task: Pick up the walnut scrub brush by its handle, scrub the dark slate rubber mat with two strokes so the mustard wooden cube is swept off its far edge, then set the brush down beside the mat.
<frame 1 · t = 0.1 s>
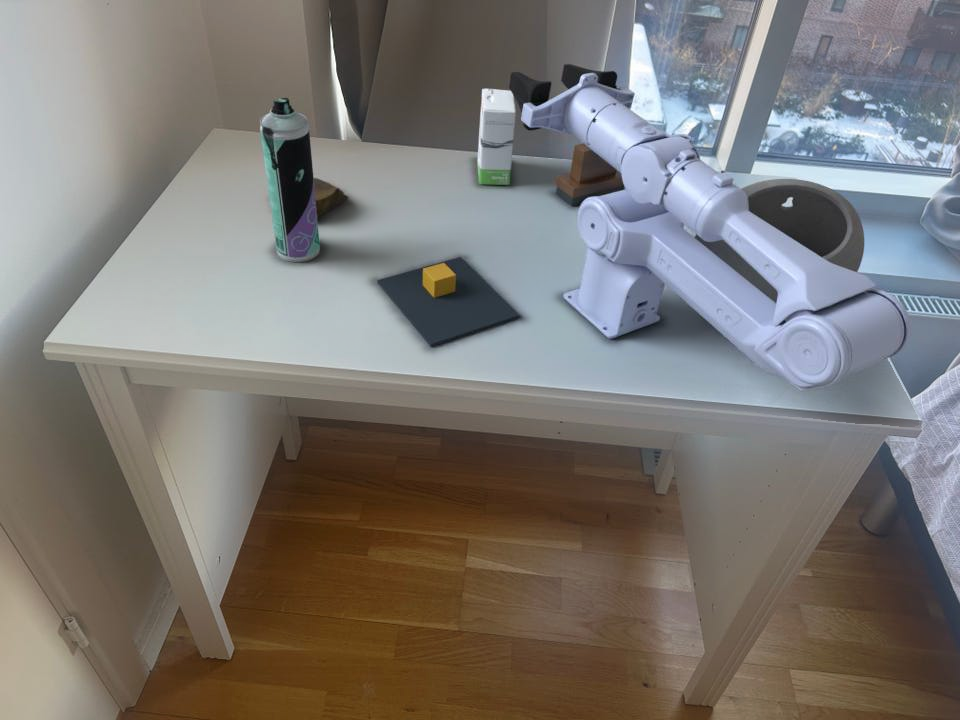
hand: (539, 76, 89), 22 cm above the table, tool horizontal, fingers open, 7 cm apart
mustard wooden cube: (438, 288, 91), resting on mat
planter: (749, 321, 91), on the table
brush: (589, 193, 113), on the table
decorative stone: (310, 204, 106), on the table
mat: (446, 299, 90), on the table
milkshake: (705, 245, 104), on the table
spray can: (298, 251, 97), on the table
ink box: (492, 173, 117), on the table
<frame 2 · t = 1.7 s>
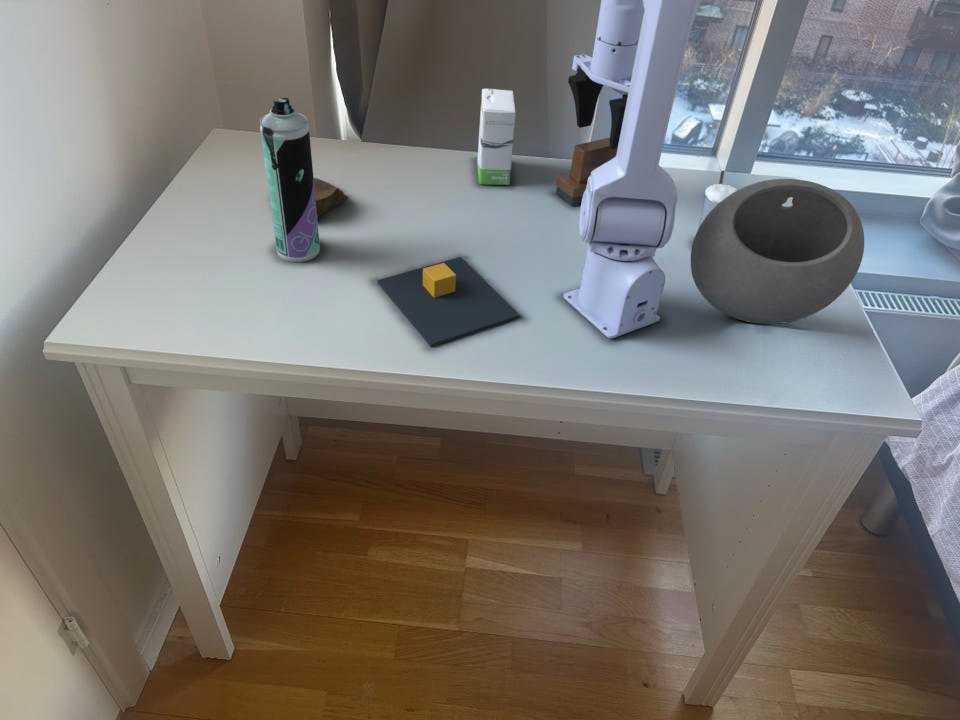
hand: (599, 136, 107), 9 cm above the table, tool pointing down, fingers open, 7 cm apart
nothing on the table moved.
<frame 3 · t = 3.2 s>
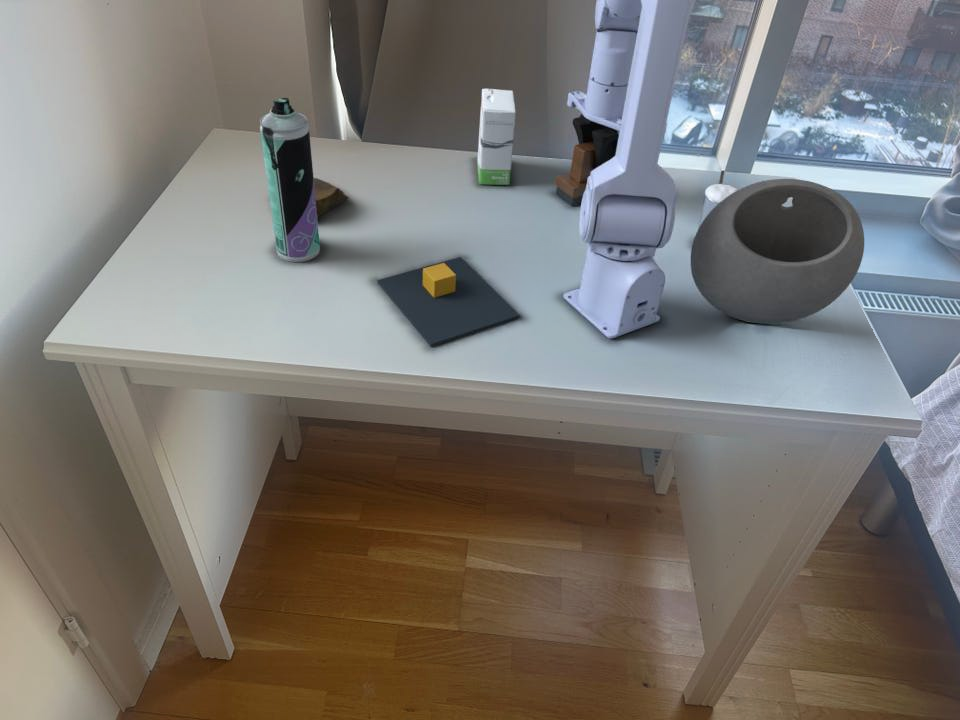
hand: (594, 170, 111), 4 cm above the table, tool pointing down, fingers closed on brush, 2 cm apart
brush: (589, 193, 113), on the table, touching gripper
everything else where it was.
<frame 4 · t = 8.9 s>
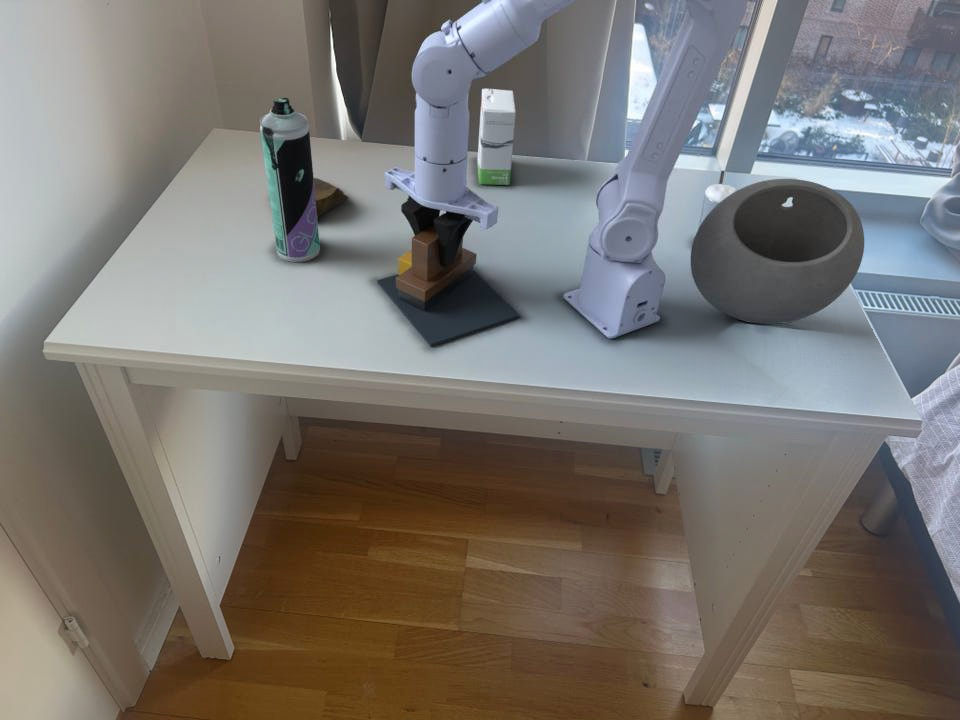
hand: (437, 258, 89), 4 cm above the table, tool pointing down, fingers closed on brush, 2 cm apart
mustard wooden cube: (415, 274, 93), resting on mat
brush: (436, 285, 91), point 1 cm above the table, touching gripper
everything else where it was.
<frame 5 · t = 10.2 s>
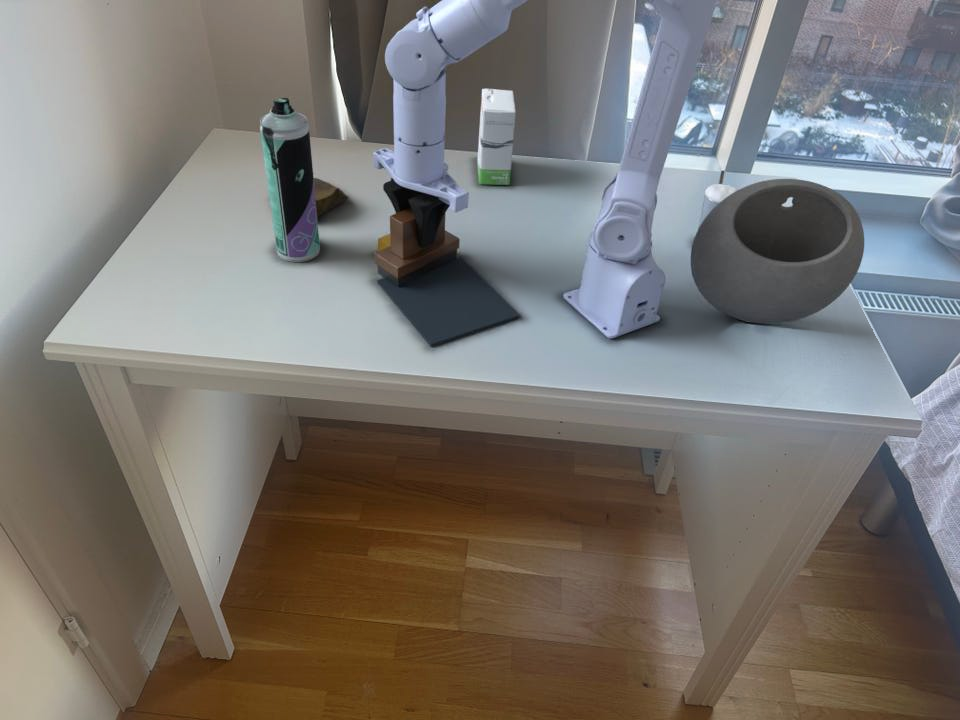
hand: (418, 239, 92), 4 cm above the table, tool pointing down, fingers closed on brush, 2 cm apart
mustard wooden cube: (394, 256, 97), on the table
brush: (417, 265, 95), on the table, touching gripper
everything else where it was.
when the fingers open (4 cm above the table, at t = 17.2 s): brush stays where it is, on the table.
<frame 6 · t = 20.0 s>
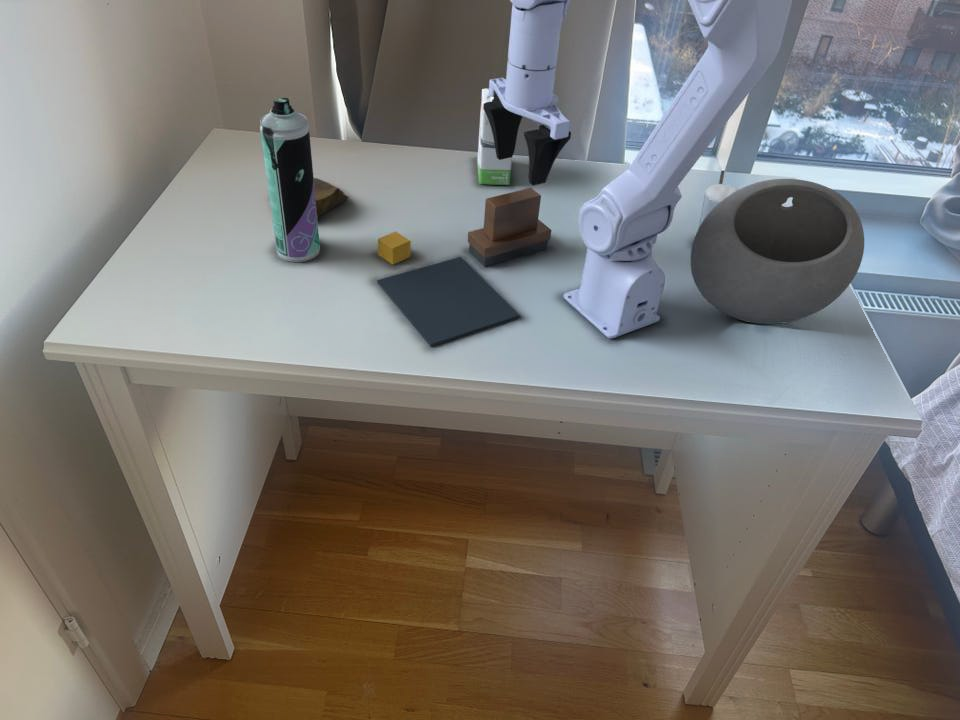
hand: (520, 170, 95), 10 cm above the table, tool pointing down, fingers open, 7 cm apart
brush: (508, 250, 100), on the table
everything else where it was.
at the end: mustard wooden cube inside the target area on the table beside the mat (7.5 cm from its centre), on the table; brush inside the target area (0.1 cm from its centre), on the table; brush tilted 0° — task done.
